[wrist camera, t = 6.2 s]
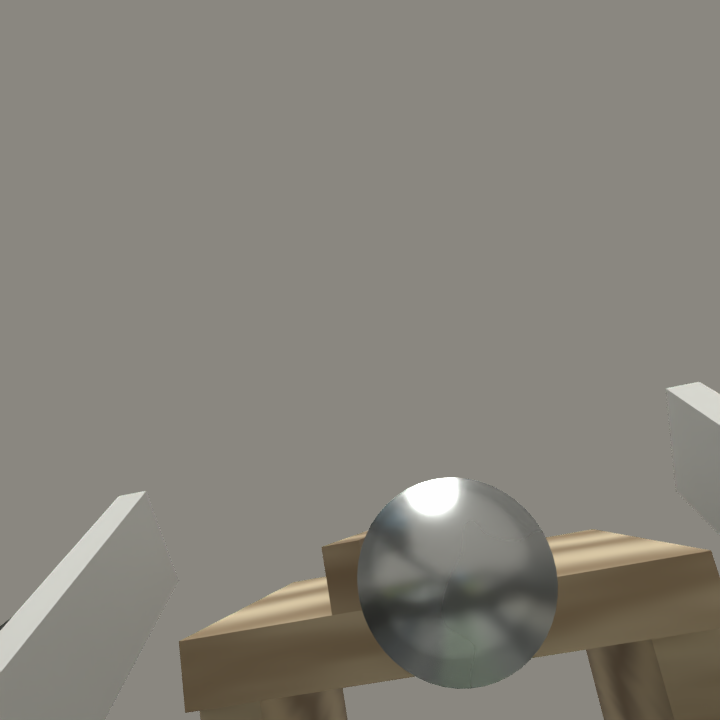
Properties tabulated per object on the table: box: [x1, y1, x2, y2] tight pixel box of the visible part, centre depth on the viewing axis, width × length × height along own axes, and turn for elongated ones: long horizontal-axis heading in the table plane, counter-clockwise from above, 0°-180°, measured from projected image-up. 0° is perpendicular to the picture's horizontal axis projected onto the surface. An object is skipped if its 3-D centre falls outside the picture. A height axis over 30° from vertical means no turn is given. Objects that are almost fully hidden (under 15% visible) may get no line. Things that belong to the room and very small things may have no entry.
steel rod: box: [357, 478, 558, 689], centre depth 20 cm, size 24×3×3 cm, turn 175°
